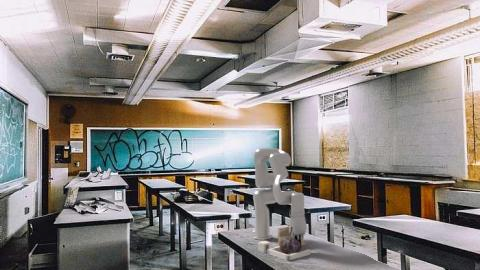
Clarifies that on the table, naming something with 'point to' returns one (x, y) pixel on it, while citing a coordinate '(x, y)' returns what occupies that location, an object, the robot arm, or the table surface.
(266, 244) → the letter cube
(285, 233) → the shelf
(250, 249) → the table surface
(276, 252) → the corral
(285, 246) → the rock
